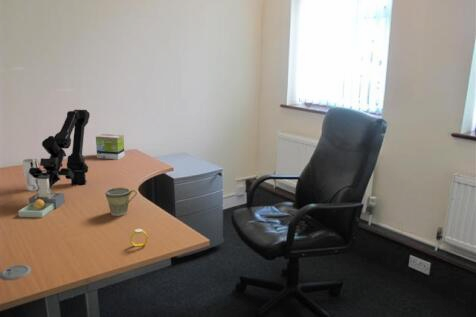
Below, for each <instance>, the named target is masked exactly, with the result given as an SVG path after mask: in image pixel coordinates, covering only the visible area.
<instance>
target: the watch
mask: <svg viewBox="0 0 476 317" xmlns="http://www.w3.org/2000/svg"><path fill="white" fill-rule="evenodd" d="M135 234H136V235H137V234H138V235H139V234H144V235H145V240H144V242H142V243H136V244H135V242H133V237H134V235H135ZM129 238H130V239H129V242H130V243H131V245H132V246H133V247H135V248H136V247H144V246H145V245H146V244H147V242H148V239H149V238H148V234H147V233H146V231H144V230H143V229H142V228H136V229H134V231H133V232H132V233H131V234H130V236H129Z"/></svg>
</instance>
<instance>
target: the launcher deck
mask: <svg viewBox="0 0 476 317" xmlns="http://www.w3.org/2000/svg"><path fill="white" fill-rule="evenodd" d="M65 198H66V197H65V193H63V192H53V191H52V192H51V194H50V195H49V196H47V197H39V194H38V192H37V193H35V194H34V195H31V197H29V199H28V202H29V204H30V203H35V201H36V200H38V199H41V200H43V201H44V203H54V210H58V208H60V207H61V206H63V205H64V204H65V203H66V199H65Z"/></svg>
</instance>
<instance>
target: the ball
mask: <svg viewBox="0 0 476 317" xmlns="http://www.w3.org/2000/svg"><path fill="white" fill-rule="evenodd" d="M34 206H35V207H36V208H38V209H40V208H43V207H44V201H43V200H41V199H38V200H36V201H35V203H34Z"/></svg>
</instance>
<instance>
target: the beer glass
mask: <svg viewBox="0 0 476 317" xmlns="http://www.w3.org/2000/svg"><path fill="white" fill-rule="evenodd" d="M39 166H40V164H39V160H38V158H28V159H24V160H23V159H22V169H23V174H24V177H25V180H26V191H28V192H34V191H35V192H36V191H38V190H39V189H40V185H39V179H38V178H34V177H33V176H32V175H31V174H30V173H29V169H30V168H32V167H36V168H40V167H39Z"/></svg>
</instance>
